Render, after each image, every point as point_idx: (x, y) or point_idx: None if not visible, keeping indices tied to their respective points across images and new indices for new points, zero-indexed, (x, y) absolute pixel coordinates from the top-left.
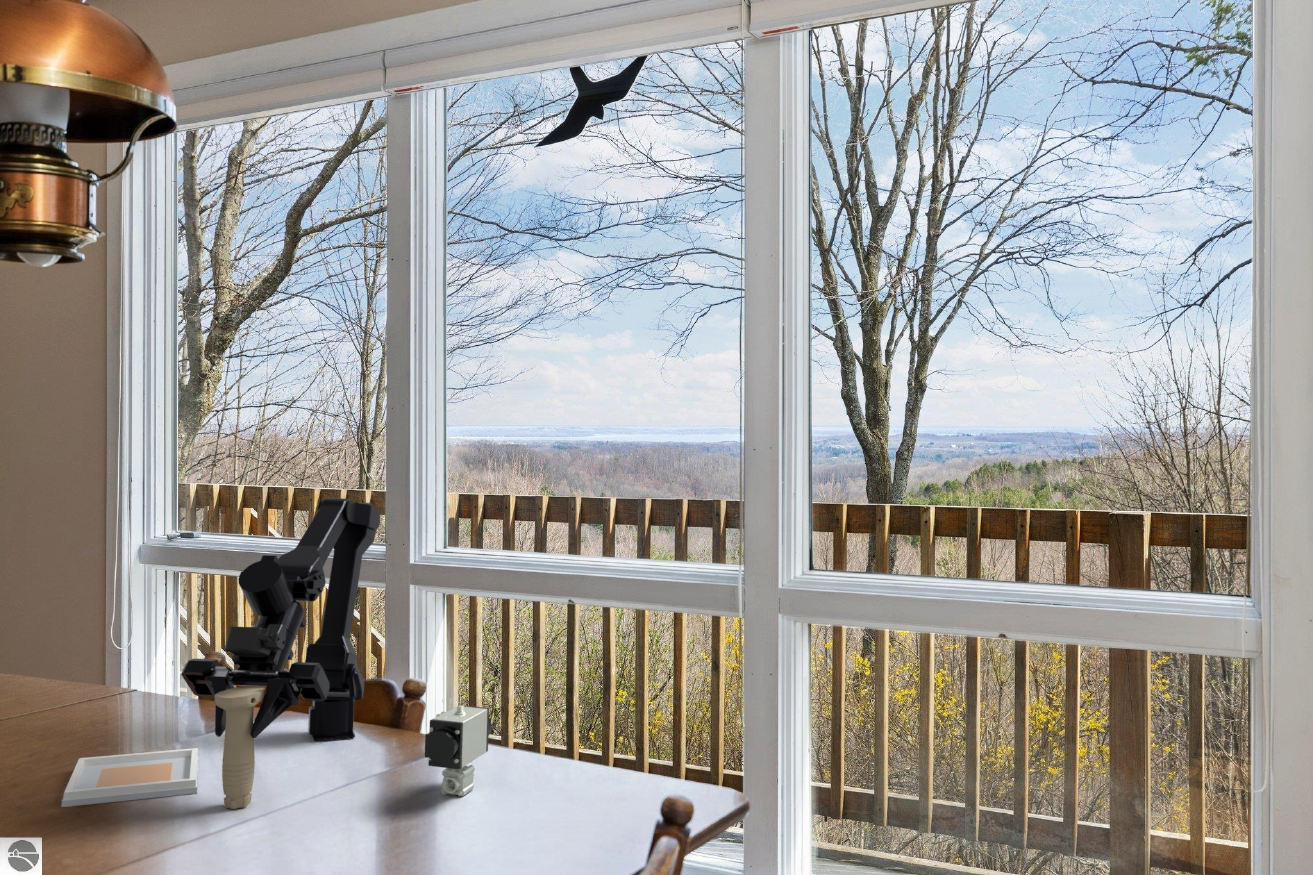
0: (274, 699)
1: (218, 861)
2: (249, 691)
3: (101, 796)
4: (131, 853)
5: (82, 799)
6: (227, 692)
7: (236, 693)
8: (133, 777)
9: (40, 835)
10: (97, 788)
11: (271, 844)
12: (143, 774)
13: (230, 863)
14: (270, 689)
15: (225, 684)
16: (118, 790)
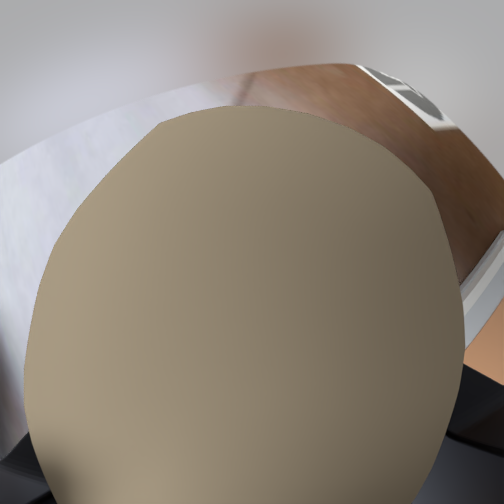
0: (21, 447)
1: (133, 109)
2: (146, 456)
3: (485, 263)
4: (274, 96)
5: (495, 245)
6: (383, 330)
7: (238, 325)
8: (499, 360)
9: (438, 133)
10: (498, 261)
11: (85, 179)
12: (494, 379)
13: (115, 111)
14: (10, 491)
15: (501, 453)
16: (477, 278)
